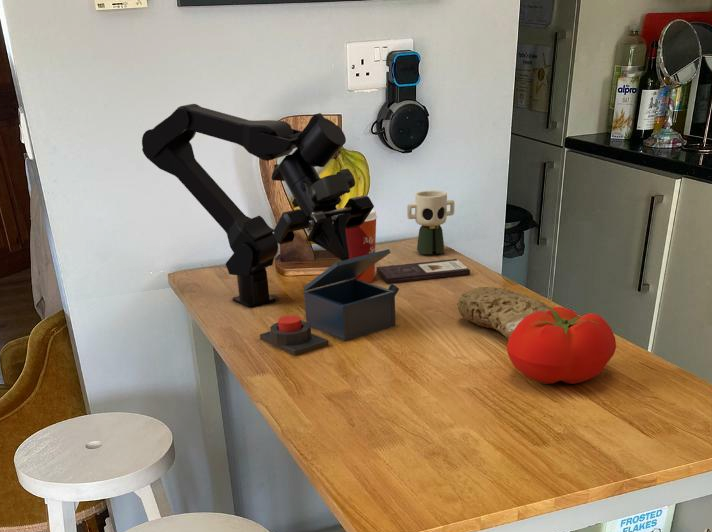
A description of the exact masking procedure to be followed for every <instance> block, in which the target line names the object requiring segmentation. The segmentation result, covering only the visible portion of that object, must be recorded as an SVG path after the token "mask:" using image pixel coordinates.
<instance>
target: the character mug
mask: <svg viewBox="0 0 712 532" xmlns="http://www.w3.org/2000/svg"><path fill="white" fill-rule="evenodd" d="M447 193H448V192H446V191H442V190H422V191H419V192H416V193H415V194H414V202H413V203H409V204H407V205H406V206H407V207H406V210H407V211H406V212H407V213H406V214H407V219H408V220H415V223H416V224H417V225H419V226H420V227H419V230H418V236H417V244H416V251H417V252H418V253H419V254H424V255H433V252H434V253H435V254H441V253H443V252H445V241H444V233H443V228H442V226H441V225H444V224H445V223H446V222H447V218H448V217H449V216H453V215H455V200H453V199H449V200H448V194H447ZM448 206H449V210H448ZM412 209H414V213H413V214H412Z"/></svg>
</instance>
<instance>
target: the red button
mask: <svg viewBox="0 0 712 532" xmlns="http://www.w3.org/2000/svg"><path fill="white" fill-rule="evenodd" d="M301 321H302V318H301V316H298V315H284V316H281V317H279V318H278V319H277V323H278V326H279V330H280V331H285V332H291V331H297V330H300V329H302V322H301Z"/></svg>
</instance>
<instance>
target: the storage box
mask: <svg viewBox="0 0 712 532" xmlns="http://www.w3.org/2000/svg"><path fill="white" fill-rule="evenodd" d="M303 294H304V295H303V296H304V298H303V299H304V312H305V322H307V323H309V324H310V327H311V329H314V330H315V331H316V330H317V331H319V332H321V333H324V334H326V335H328V336H330V337H333V338H335V339H337V340H340V341H343V342H347V341H350V340H354V339H358V338H360V337H363V336H367V335H369V334H373V333H376V332H379V331H382V330H385V329H389V328H392V327H395V326H396V295H395V292H394V291H391V290H388V288H385V287H382V286H379V285H377V284H373V283H372V282H369V283H368V282H365V281H362V280H359V279H356V278H353V279H350V280H345V281H341V282H337V283H333V284H330V285H326V286H322V287H318V288H315V289H311V290H307V291H303Z"/></svg>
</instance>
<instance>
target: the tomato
mask: <svg viewBox="0 0 712 532" xmlns="http://www.w3.org/2000/svg"><path fill="white" fill-rule="evenodd" d="M616 349H617V342H616V336H615V334H614V332H613V329H612V327H611V326H610V325H609V324H608V322H607V321H606V320H605V319H604V318H603V317H602V316H601V315H599V314H596V313H593V312H590V313H586V314H585V313H584V315H581V316H580V315H579V314H577V312H575V311H574V310H573V309H569V308H566V307H563V306H553V307H550V309H549V310H547V311H546V312H543V311H540V312H533V313H531V314H530V315H528V316H526V317H525V318H524V319H523V320H522V321H521V322H520V323H519V324H518V325H517V326H516V328H515V329H514V331H513V332H512V334H511V336H510V337H509V340H508V339H507V344H506V351H507V356H508V358H509V360H510V362H511V364H512V365H513V366H514V368H515V369H516V370H517V371H519V372H520V373H521V374H523V375H524V376H525V377H526V378H529V379H531V380H533V381H535V382H538V383H541V384H543V385H544V384H545V385H547V384H549V385H550V384H551V385H552V384H555V383H557V382H560V381H561V382H563V383H565V384H571V385H573V384H580V383H582V382H585V381H587V380H590V379H593V378H595V377H596V376H598V375H599V374H601V372H602V371H603V370H604V369H605V368H606V366H607V365H608V363H609V362H610V360H611V359H612V358H613V356H614V355H615V353H616Z"/></svg>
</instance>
